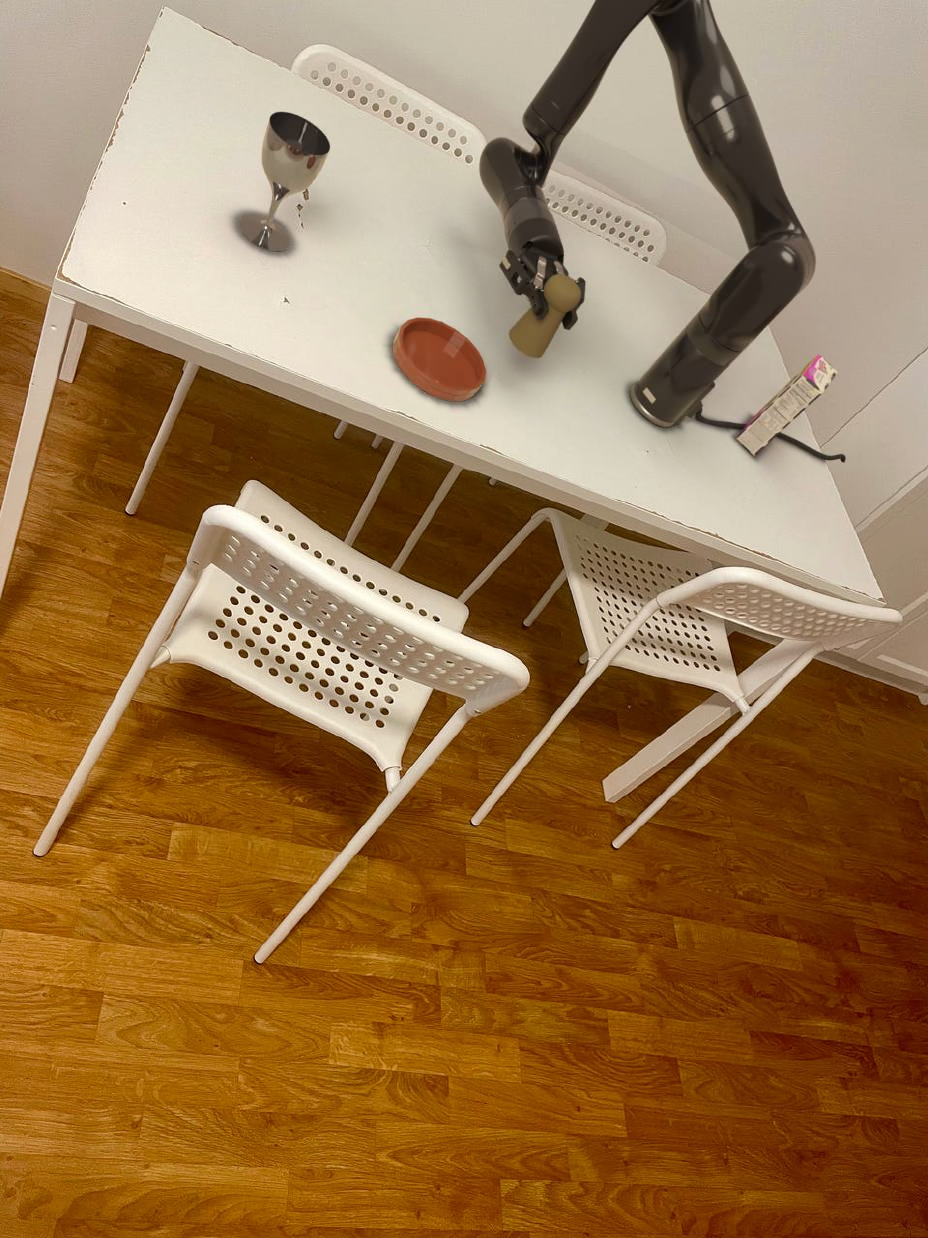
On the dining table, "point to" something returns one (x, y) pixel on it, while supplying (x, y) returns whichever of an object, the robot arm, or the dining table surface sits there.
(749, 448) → the candy bar box
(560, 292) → the brown game pawn
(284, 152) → the silver goblet
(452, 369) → the dish
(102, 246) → the dining table surface
